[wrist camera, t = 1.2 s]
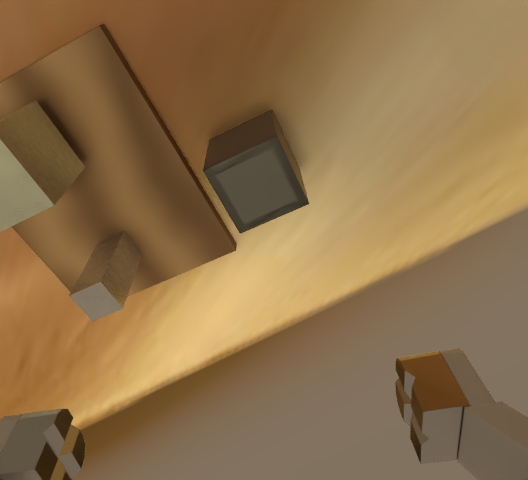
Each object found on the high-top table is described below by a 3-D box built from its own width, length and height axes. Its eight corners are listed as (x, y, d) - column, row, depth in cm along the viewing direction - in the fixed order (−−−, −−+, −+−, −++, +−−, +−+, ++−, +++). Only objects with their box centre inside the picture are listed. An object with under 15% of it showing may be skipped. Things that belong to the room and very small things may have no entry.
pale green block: (44, 94, 30) (-9, 127, 24) (91, 159, 33) (54, 205, 26) (-15, 127, 31) (-82, 168, 25) (35, 187, 34) (-14, 238, 27)
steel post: (124, 230, 36) (100, 281, 30) (142, 254, 37) (122, 308, 31) (98, 242, 36) (69, 295, 31) (116, 265, 38) (92, 320, 32)
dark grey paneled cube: (272, 109, 32) (276, 136, 27) (299, 169, 35) (309, 203, 30) (209, 140, 33) (203, 170, 28) (240, 196, 36) (240, 233, 31)
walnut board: (103, 24, 29) (99, 25, 28) (236, 243, 38) (236, 250, 37) (-70, 123, 32) (-78, 127, 31) (92, 305, 41) (89, 312, 40)
